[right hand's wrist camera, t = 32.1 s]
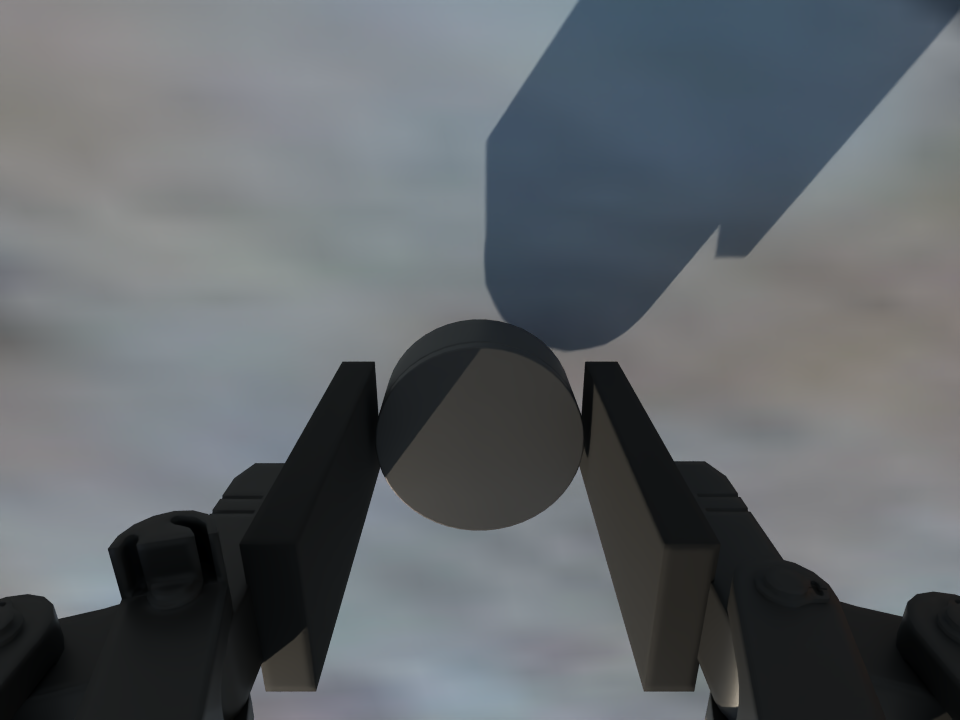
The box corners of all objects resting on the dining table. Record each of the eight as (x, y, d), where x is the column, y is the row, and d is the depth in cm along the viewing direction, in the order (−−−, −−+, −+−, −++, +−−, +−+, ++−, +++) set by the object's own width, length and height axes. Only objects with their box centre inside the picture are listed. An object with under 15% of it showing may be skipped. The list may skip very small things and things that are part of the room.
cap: (545, 497, 16) (555, 545, 14) (374, 468, 16) (361, 513, 14) (592, 337, 14) (609, 369, 13) (401, 301, 14) (391, 327, 12)
